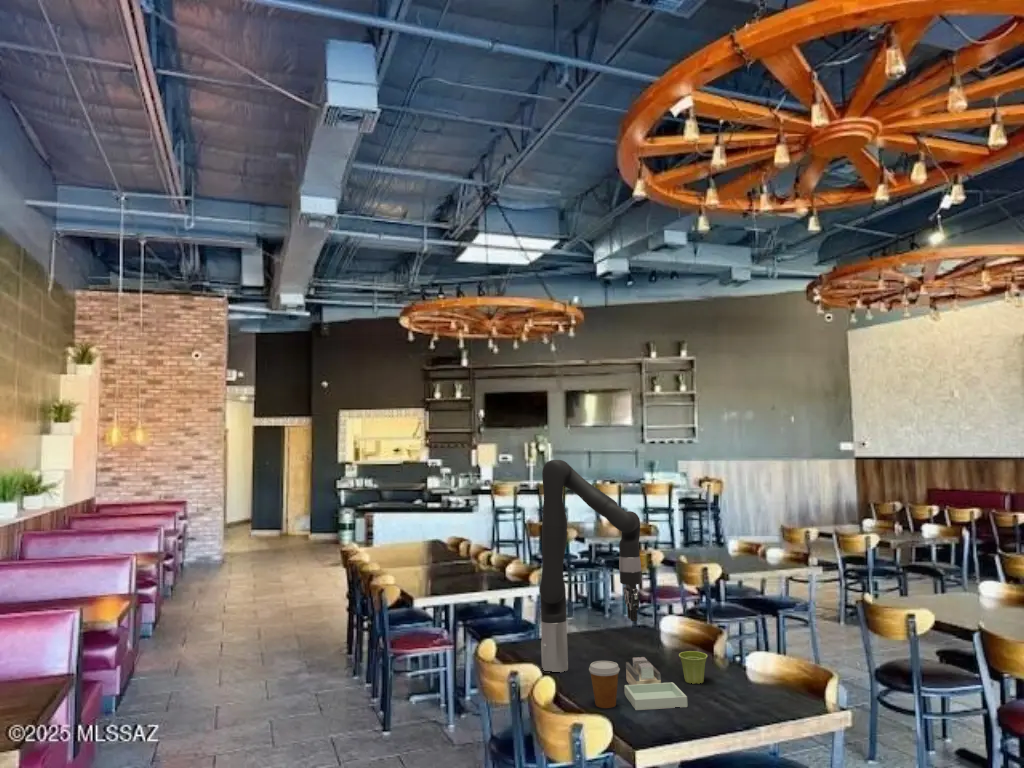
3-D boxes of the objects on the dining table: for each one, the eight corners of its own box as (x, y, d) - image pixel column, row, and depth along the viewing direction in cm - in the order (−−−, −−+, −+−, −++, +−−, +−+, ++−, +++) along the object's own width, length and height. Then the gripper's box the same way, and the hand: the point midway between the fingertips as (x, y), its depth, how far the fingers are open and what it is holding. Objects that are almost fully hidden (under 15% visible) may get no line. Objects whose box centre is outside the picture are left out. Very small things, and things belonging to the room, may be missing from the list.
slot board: (637, 694, 231) (636, 674, 232) (626, 680, 245) (625, 662, 246) (661, 692, 232) (660, 673, 233) (649, 679, 246) (648, 661, 246)
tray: (635, 710, 217) (635, 699, 217) (624, 694, 231) (624, 685, 231) (687, 707, 218) (687, 696, 219) (673, 691, 232) (673, 682, 233)
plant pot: (713, 680, 242) (712, 654, 243) (700, 688, 235) (698, 660, 236) (689, 675, 249) (687, 649, 249) (674, 682, 242) (673, 655, 243)
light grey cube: (636, 673, 240) (635, 661, 240) (633, 669, 244) (632, 657, 244) (648, 672, 240) (647, 660, 240) (644, 669, 244) (644, 657, 244)
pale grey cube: (641, 679, 233) (641, 667, 233) (638, 676, 237) (637, 663, 237) (653, 679, 233) (653, 666, 234) (650, 675, 237) (649, 662, 238)
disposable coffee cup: (613, 712, 216) (611, 670, 217) (585, 707, 221) (583, 666, 222) (626, 702, 224) (624, 662, 225) (598, 697, 229) (596, 658, 230)
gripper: (615, 566, 260) (617, 615, 258) (624, 573, 246) (626, 625, 244) (635, 565, 260) (637, 614, 259) (646, 572, 246) (648, 624, 245)
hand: (632, 619), depth 251 cm, fingers open, 3 cm apart
